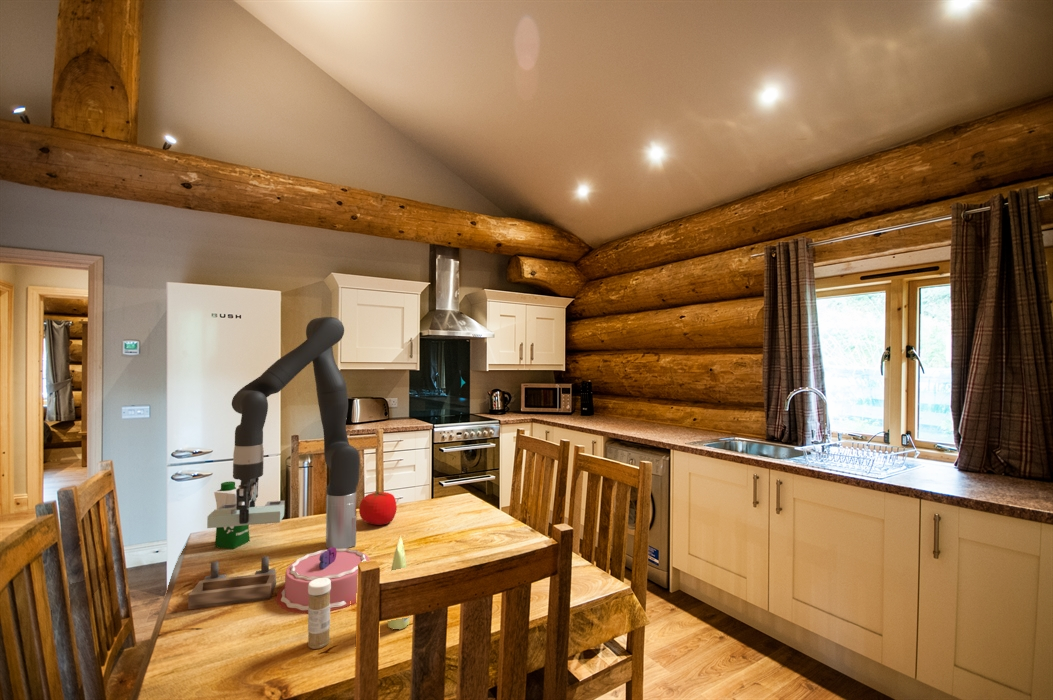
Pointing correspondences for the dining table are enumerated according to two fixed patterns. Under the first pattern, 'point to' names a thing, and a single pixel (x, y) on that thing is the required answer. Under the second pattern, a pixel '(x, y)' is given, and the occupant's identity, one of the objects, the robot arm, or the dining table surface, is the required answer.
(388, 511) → the tomato
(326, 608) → the sprinkles bottle
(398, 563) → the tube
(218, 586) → the carcass
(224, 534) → the milk carton
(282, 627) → the dining table surface
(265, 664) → the dining table surface
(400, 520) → the dining table surface
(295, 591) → the cake
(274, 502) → the door
